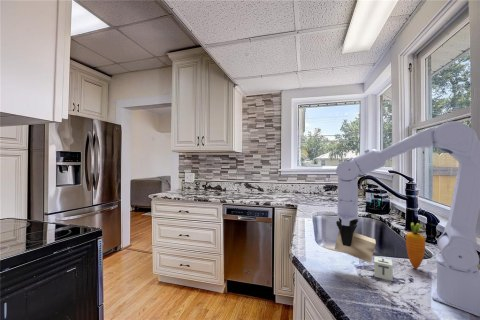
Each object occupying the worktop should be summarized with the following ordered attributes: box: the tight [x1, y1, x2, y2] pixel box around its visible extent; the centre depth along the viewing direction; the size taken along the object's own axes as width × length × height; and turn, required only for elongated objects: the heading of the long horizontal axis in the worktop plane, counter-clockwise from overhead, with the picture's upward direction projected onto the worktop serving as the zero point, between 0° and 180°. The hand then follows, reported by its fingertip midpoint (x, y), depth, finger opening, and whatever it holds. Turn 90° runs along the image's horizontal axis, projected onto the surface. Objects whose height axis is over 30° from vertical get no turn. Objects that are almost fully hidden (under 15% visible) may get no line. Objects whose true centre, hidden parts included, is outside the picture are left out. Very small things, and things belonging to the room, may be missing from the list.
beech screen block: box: [334, 230, 377, 264], centre depth 68 cm, size 10×4×6 cm, turn 60°
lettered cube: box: [373, 255, 394, 281], centre depth 67 cm, size 4×5×5 cm
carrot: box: [405, 222, 426, 270], centre depth 71 cm, size 5×5×15 cm
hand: (347, 243), depth 69 cm, fingers closed on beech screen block, 4 cm apart
